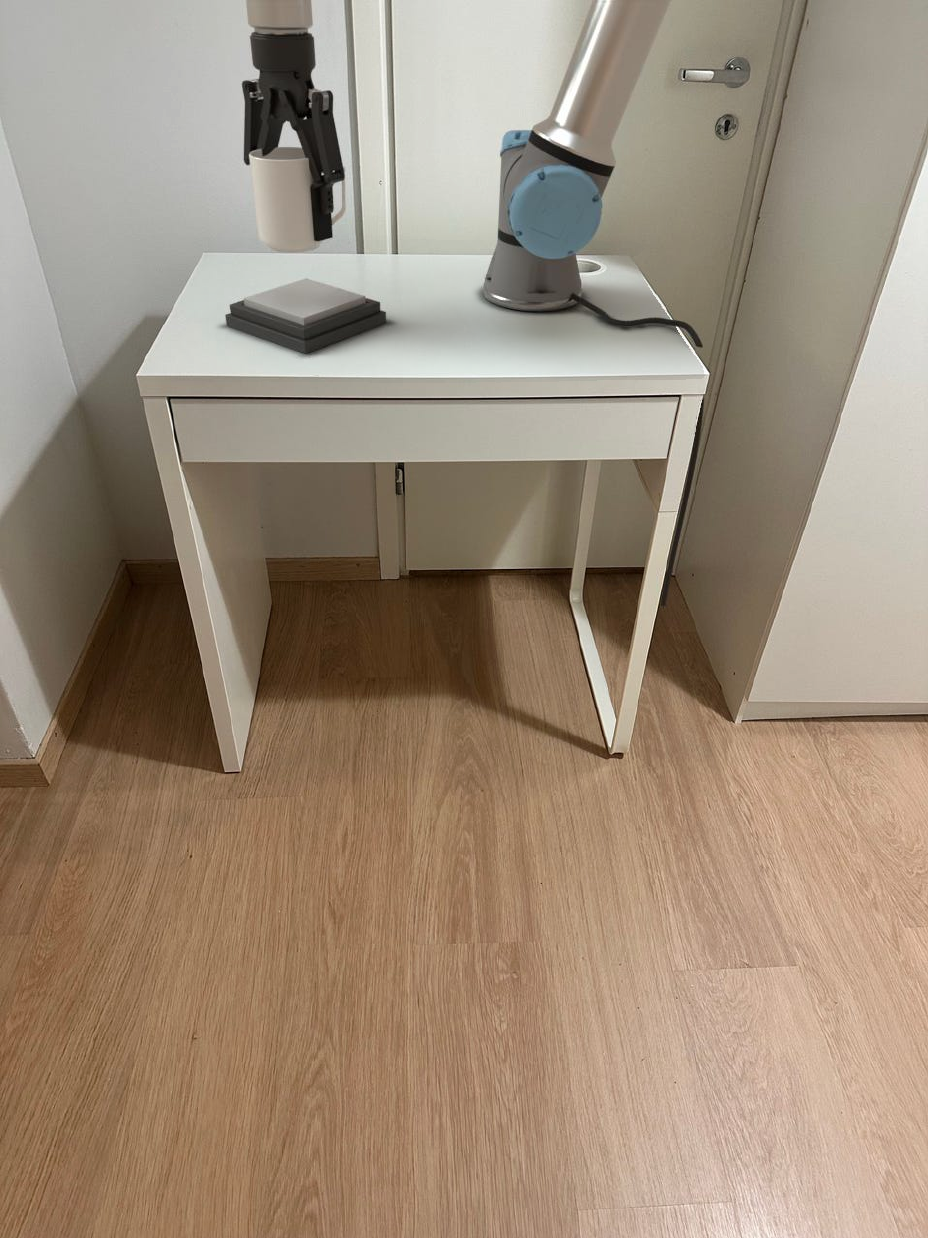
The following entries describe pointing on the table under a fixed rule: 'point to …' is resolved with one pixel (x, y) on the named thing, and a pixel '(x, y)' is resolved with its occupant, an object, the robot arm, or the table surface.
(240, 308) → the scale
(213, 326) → the table surface
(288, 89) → the robot arm
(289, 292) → the light grey square tile
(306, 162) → the mug
